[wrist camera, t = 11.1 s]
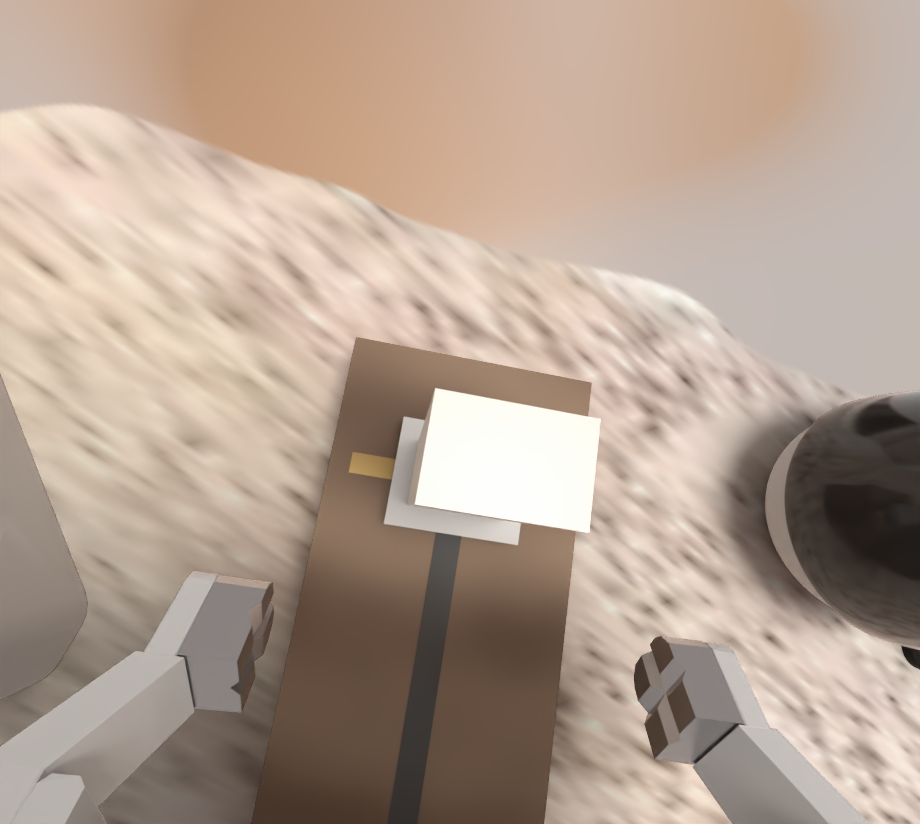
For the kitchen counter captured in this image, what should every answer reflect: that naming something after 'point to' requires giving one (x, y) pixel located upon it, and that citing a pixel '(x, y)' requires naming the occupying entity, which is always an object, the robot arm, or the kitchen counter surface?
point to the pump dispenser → (855, 513)
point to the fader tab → (493, 469)
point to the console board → (418, 630)
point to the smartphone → (912, 656)
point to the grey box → (31, 568)
